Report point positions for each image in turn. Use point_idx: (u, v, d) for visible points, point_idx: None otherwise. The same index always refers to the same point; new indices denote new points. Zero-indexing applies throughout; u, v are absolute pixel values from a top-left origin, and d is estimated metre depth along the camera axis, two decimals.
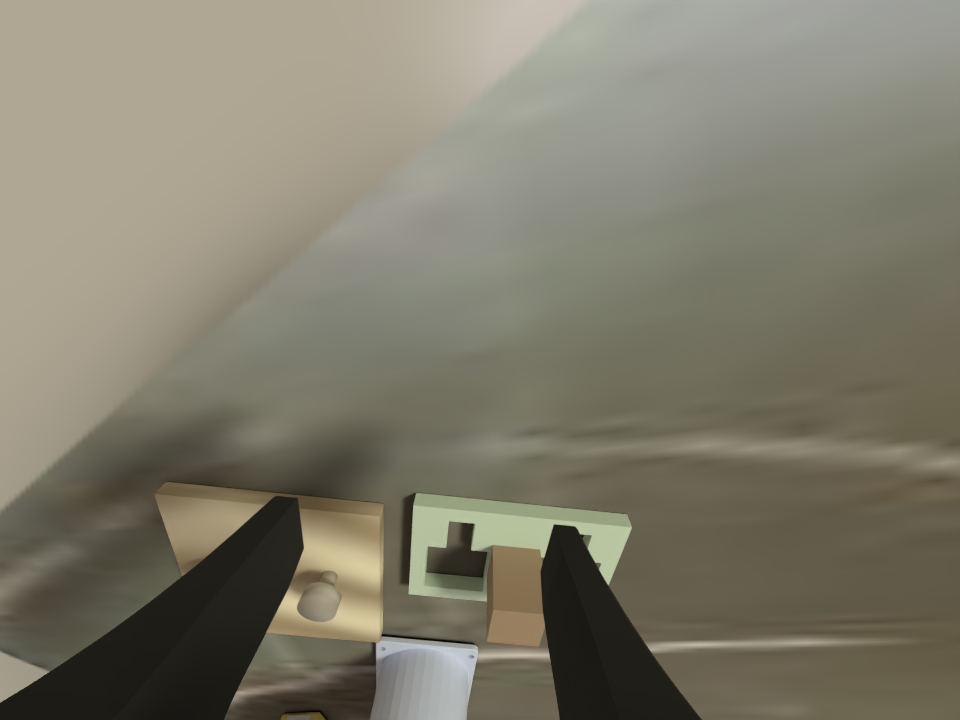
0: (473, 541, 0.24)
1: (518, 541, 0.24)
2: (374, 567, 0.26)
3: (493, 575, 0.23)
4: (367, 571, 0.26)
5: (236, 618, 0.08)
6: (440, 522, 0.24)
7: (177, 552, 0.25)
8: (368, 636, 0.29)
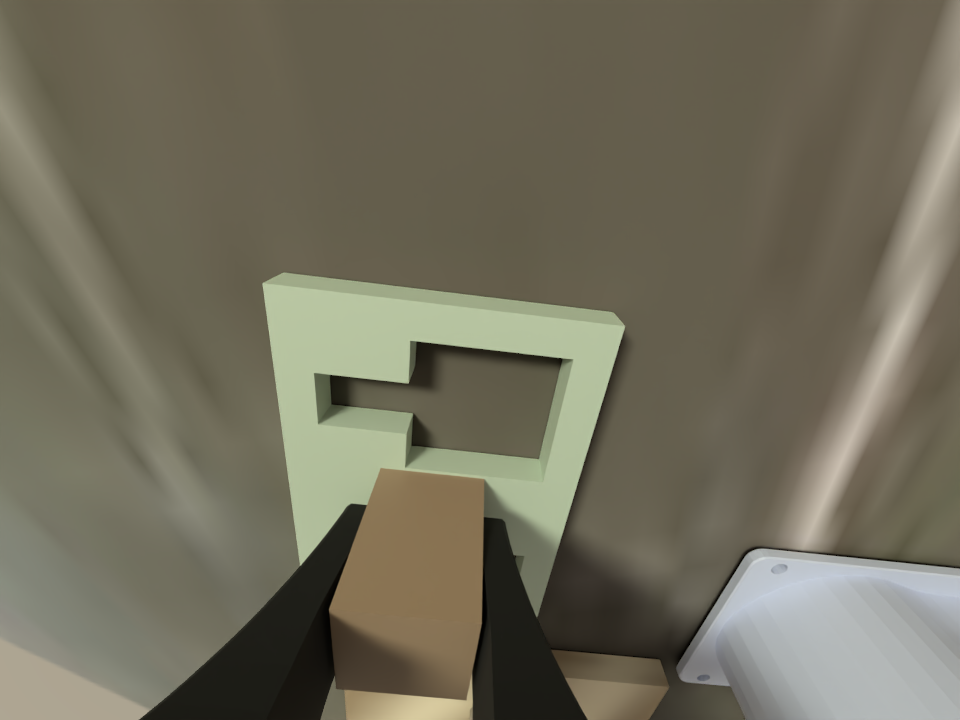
0: None
1: (362, 503, 0.12)
2: None
3: None
4: None
5: None
6: None
7: None
8: (646, 695, 0.16)
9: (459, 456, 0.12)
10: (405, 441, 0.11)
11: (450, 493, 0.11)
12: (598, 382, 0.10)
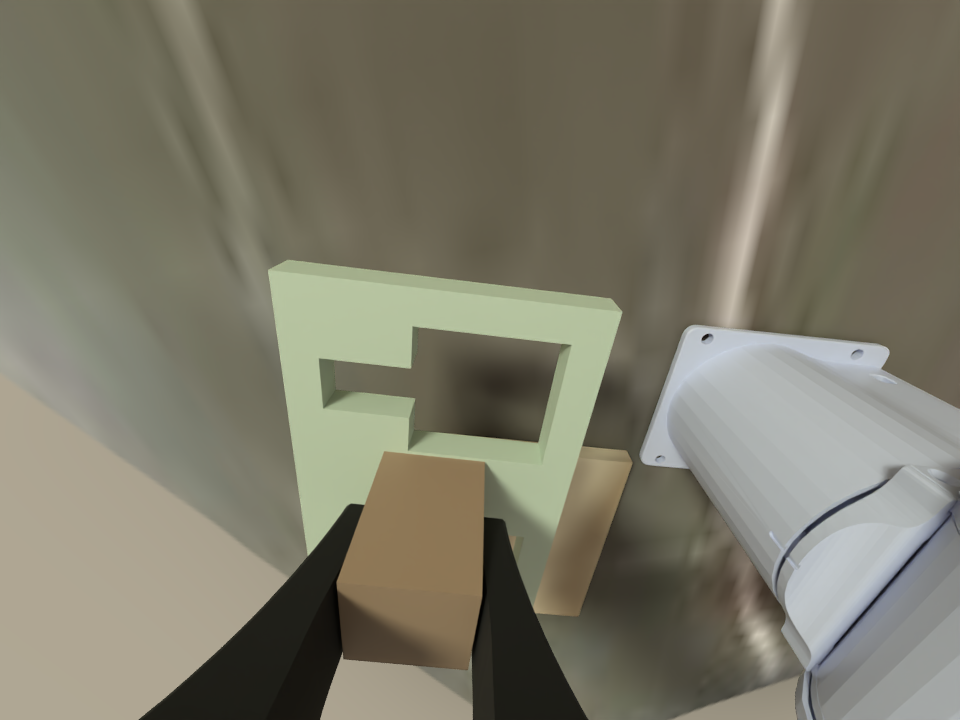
0: None
1: (367, 485, 0.12)
2: None
3: None
4: None
5: (330, 627, 0.08)
6: None
7: None
8: (615, 473, 0.21)
9: (460, 440, 0.12)
10: (408, 425, 0.11)
11: (452, 475, 0.11)
12: (596, 367, 0.10)
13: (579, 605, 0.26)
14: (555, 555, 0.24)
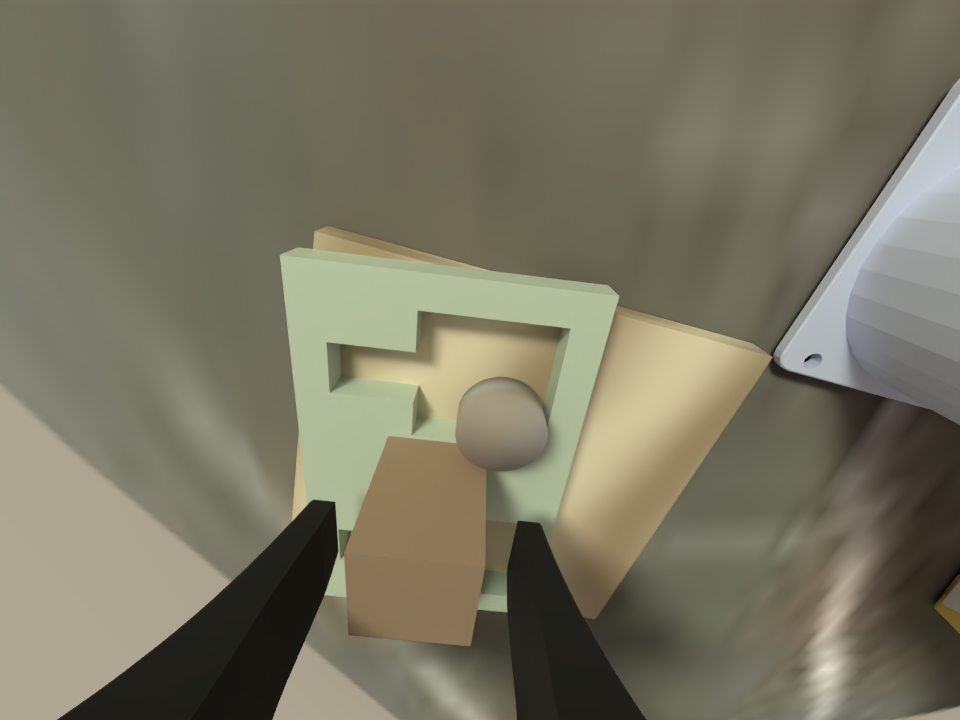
0: None
1: (371, 470, 0.12)
2: None
3: None
4: None
5: (283, 622, 0.08)
6: None
7: None
8: (736, 375, 0.12)
9: None
10: (412, 409, 0.11)
11: (455, 458, 0.11)
12: (594, 351, 0.10)
13: (601, 602, 0.17)
14: (589, 516, 0.14)
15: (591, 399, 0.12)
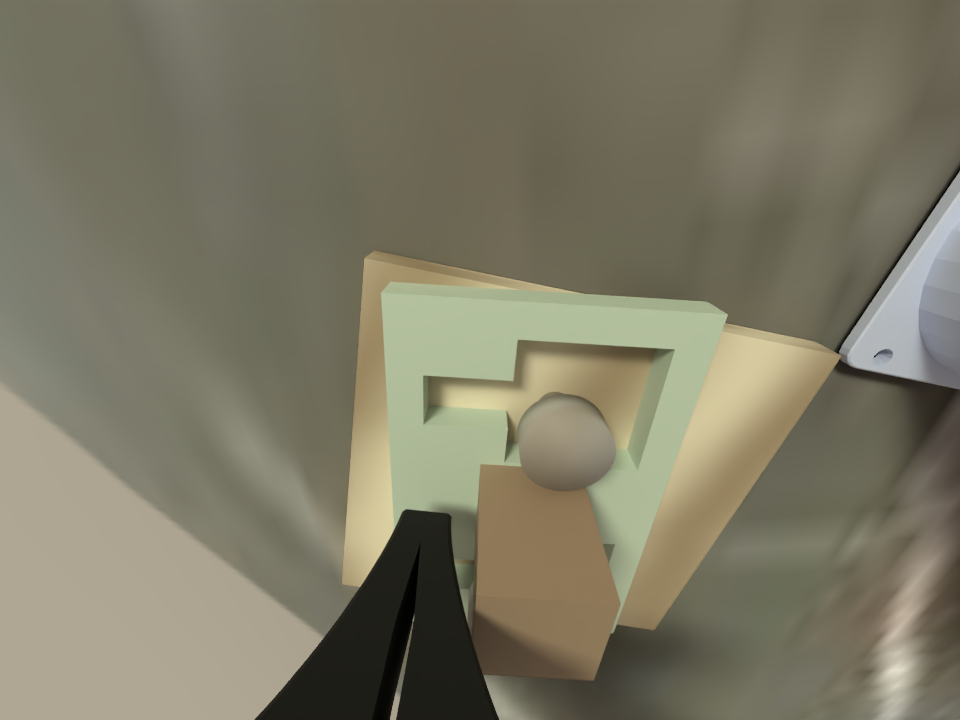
0: (469, 558, 0.14)
1: (460, 498, 0.12)
2: None
3: None
4: None
5: (400, 633, 0.08)
6: None
7: None
8: (802, 376, 0.11)
9: None
10: (506, 437, 0.11)
11: None
12: (698, 370, 0.10)
13: (660, 613, 0.16)
14: None
15: None
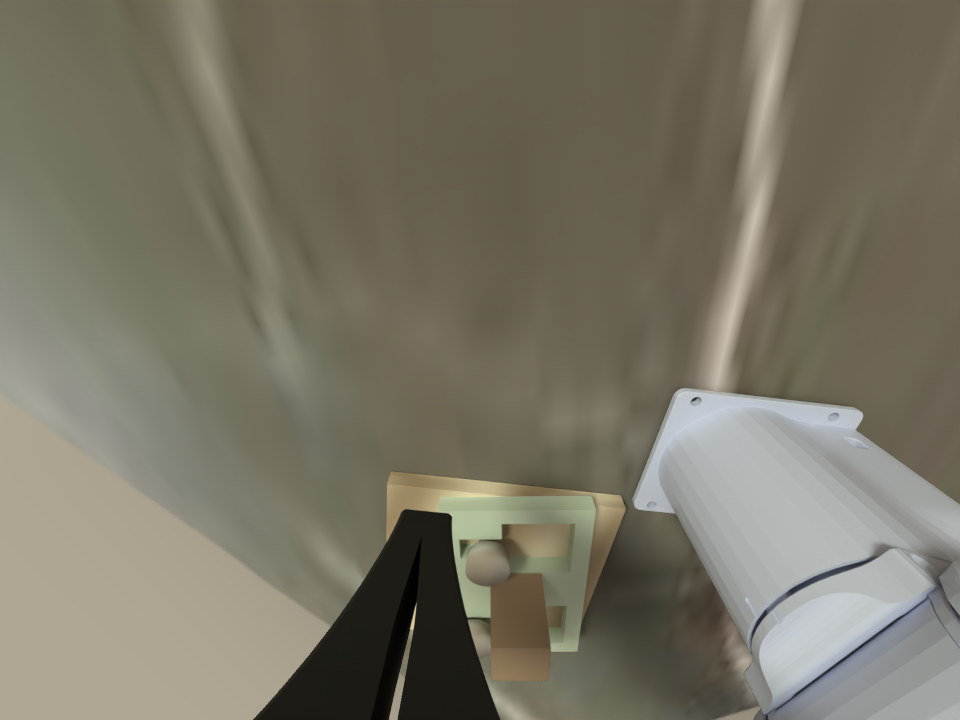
0: (490, 616, 0.25)
1: (482, 589, 0.24)
2: None
3: None
4: None
5: (400, 633, 0.08)
6: None
7: None
8: (609, 518, 0.22)
9: (527, 560, 0.24)
10: None
11: (526, 584, 0.22)
12: (588, 530, 0.21)
13: None
14: None
15: (537, 535, 0.23)
